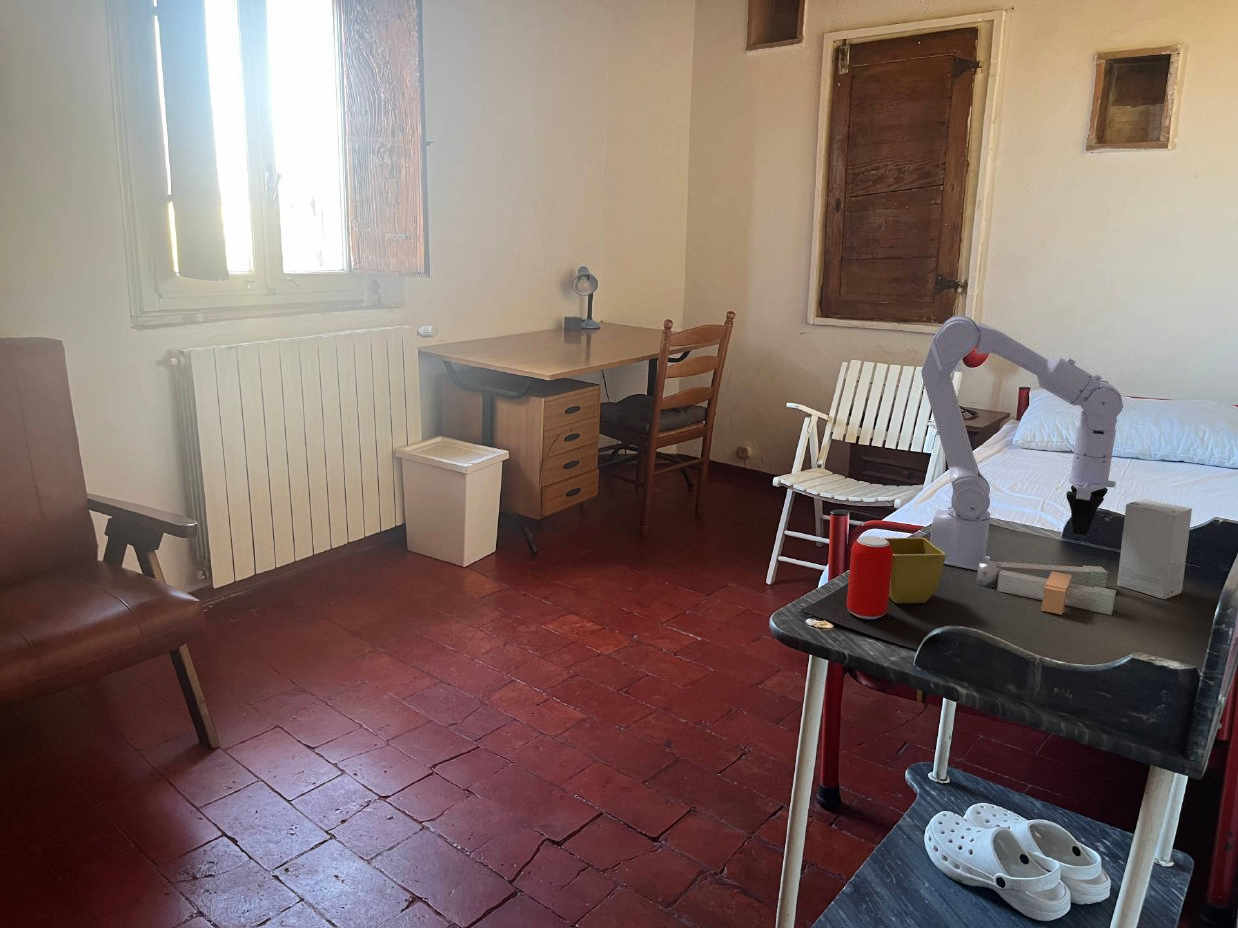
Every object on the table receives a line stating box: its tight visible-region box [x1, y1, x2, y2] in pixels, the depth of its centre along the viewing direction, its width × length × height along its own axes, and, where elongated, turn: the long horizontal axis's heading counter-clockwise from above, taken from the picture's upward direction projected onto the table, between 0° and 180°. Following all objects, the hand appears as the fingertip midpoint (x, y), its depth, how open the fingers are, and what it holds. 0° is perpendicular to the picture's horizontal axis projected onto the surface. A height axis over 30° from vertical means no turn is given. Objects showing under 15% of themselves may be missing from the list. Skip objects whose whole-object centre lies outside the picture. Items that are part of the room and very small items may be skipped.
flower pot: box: [883, 537, 946, 604], centre depth 147 cm, size 9×9×9 cm
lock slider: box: [1040, 571, 1072, 616], centre depth 145 cm, size 3×8×4 cm, turn 148°
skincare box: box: [1116, 498, 1193, 600], centre depth 152 cm, size 8×6×15 cm
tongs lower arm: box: [996, 570, 1117, 616], centre depth 148 cm, size 17×3×3 cm, turn 58°
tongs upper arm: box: [976, 560, 1109, 589], centre depth 154 cm, size 21×5×4 cm, turn 83°
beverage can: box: [846, 535, 893, 620], centre depth 140 cm, size 6×6×12 cm
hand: (1081, 530), depth 157 cm, fingers open, 4 cm apart
